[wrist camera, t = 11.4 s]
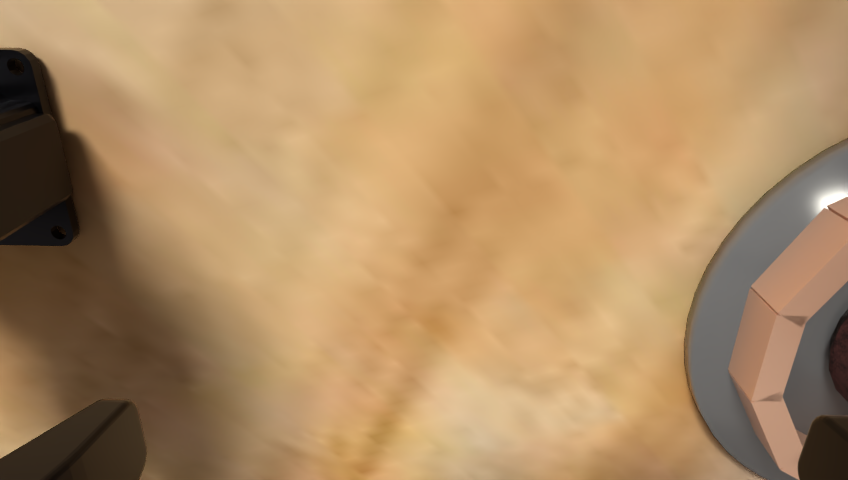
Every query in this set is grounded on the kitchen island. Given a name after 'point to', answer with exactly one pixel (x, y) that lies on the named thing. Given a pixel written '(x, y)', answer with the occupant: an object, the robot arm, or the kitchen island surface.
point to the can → (840, 356)
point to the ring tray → (774, 319)
